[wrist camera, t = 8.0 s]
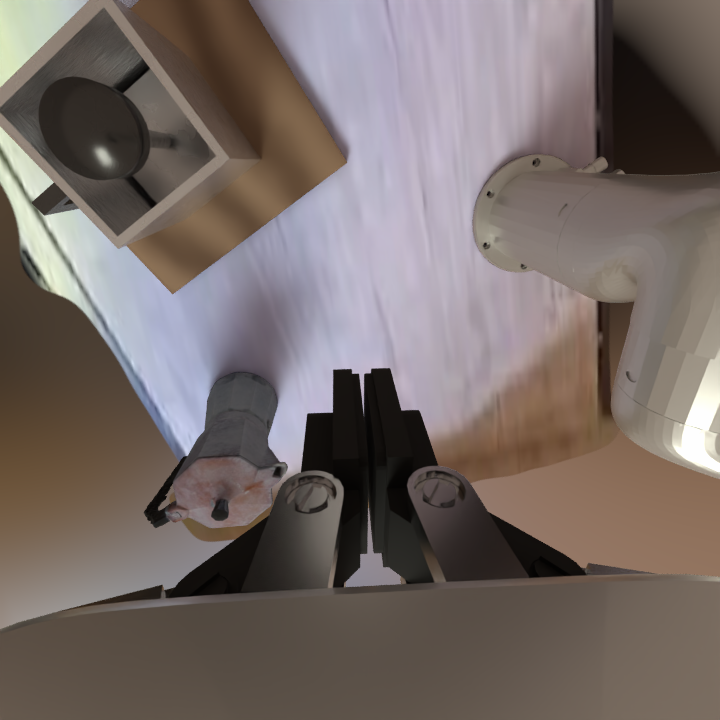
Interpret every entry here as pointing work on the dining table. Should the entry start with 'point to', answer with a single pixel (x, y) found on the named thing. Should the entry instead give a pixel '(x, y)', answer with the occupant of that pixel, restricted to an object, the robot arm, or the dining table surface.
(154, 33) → the open box
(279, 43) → the dining table surface
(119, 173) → the plunger
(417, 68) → the dining table surface
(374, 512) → the robot arm
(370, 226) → the dining table surface
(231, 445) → the moka pot
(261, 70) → the walnut board
